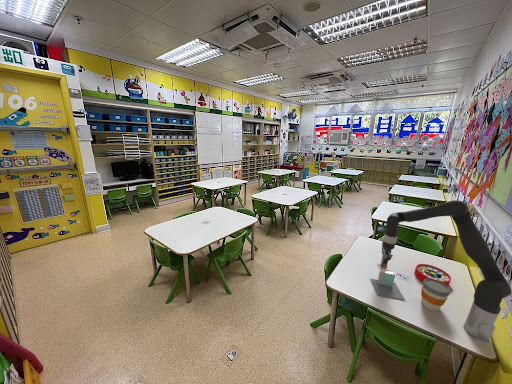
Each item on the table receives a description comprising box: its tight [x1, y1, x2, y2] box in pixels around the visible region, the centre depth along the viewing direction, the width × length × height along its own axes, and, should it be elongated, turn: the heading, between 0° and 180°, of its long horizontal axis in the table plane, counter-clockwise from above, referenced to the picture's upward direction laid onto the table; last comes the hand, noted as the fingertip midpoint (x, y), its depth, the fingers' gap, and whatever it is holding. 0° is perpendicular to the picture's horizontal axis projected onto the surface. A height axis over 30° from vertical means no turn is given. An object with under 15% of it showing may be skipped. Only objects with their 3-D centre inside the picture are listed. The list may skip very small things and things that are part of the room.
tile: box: [377, 270, 396, 287], centre depth 143 cm, size 2×9×10 cm, turn 76°
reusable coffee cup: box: [420, 278, 451, 312], centre depth 126 cm, size 13×13×15 cm
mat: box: [370, 278, 406, 301], centre depth 140 cm, size 16×16×1 cm
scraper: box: [377, 254, 390, 272], centre depth 148 cm, size 6×6×11 cm
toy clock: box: [414, 263, 452, 288], centre depth 151 cm, size 20×6×20 cm
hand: (384, 261), depth 148 cm, fingers closed on scraper, 3 cm apart
